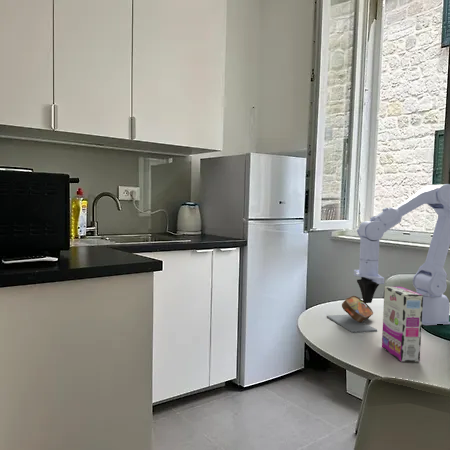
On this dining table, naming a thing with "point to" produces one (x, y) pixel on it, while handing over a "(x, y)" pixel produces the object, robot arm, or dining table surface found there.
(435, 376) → the dining table surface
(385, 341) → the candy bar box
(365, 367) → the dining table surface
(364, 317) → the tin
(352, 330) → the pad
